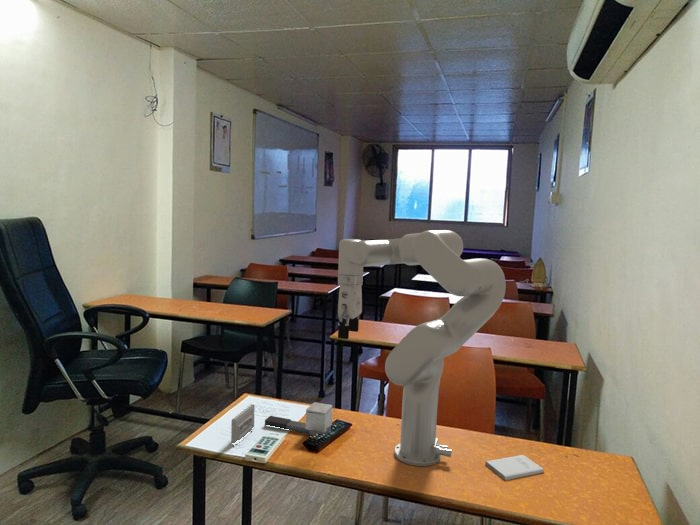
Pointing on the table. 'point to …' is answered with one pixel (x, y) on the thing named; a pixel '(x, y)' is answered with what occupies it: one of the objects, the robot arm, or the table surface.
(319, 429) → the grey block
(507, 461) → the external hard drive
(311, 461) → the table surface
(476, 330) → the robot arm
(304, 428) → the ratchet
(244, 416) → the cassette
